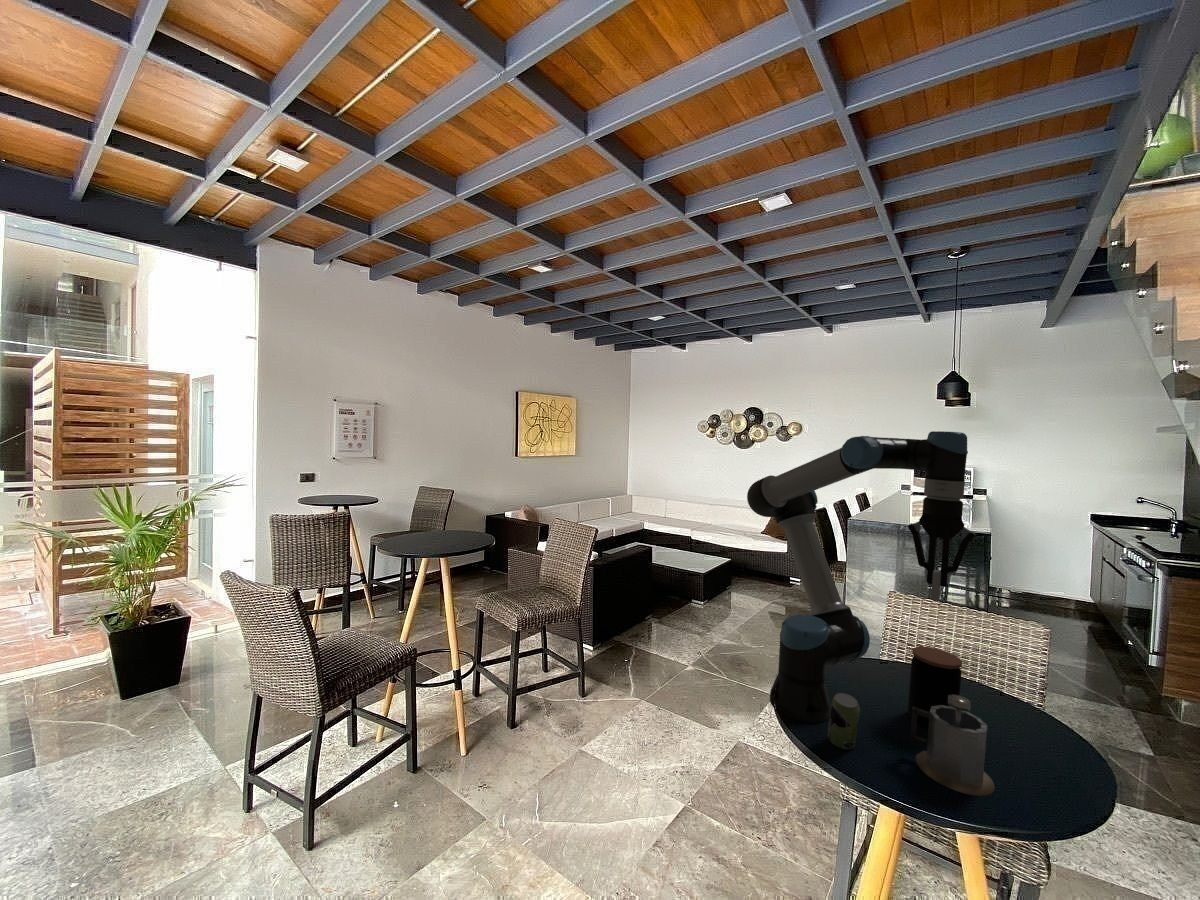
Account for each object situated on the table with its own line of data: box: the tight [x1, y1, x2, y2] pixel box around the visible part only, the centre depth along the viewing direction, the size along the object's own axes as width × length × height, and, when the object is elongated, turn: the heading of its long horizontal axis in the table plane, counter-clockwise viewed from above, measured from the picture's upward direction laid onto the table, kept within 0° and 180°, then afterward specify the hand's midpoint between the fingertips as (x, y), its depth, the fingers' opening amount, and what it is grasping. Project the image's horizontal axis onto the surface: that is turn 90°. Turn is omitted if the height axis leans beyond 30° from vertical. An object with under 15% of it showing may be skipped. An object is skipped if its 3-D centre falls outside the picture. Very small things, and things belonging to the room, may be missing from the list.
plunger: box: [948, 695, 972, 727], centre depth 106 cm, size 7×7×13 cm
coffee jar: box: [907, 646, 963, 730], centre depth 125 cm, size 11×11×18 cm
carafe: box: [909, 705, 988, 789], centre depth 107 cm, size 13×10×12 cm
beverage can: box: [827, 692, 861, 750], centre depth 114 cm, size 6×7×12 cm
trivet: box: [915, 750, 995, 797], centre depth 106 cm, size 14×14×1 cm
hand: (935, 598), depth 113 cm, fingers closed
